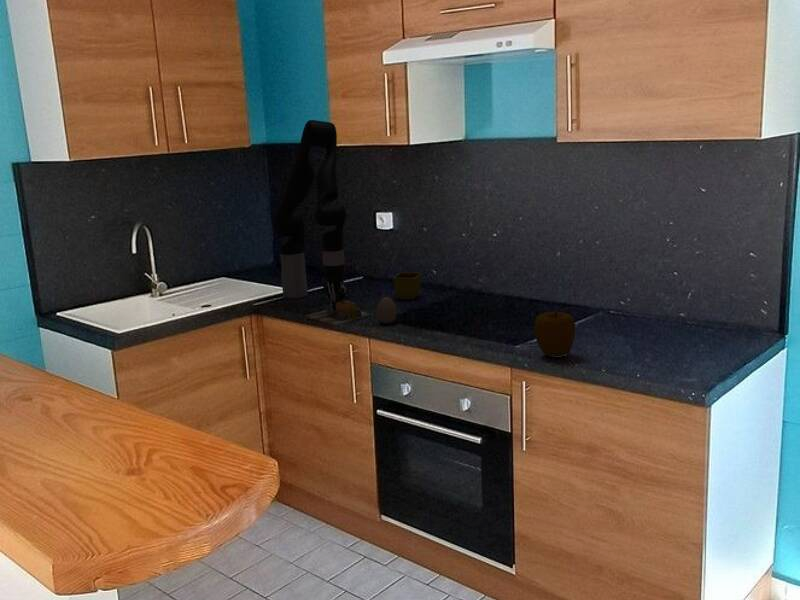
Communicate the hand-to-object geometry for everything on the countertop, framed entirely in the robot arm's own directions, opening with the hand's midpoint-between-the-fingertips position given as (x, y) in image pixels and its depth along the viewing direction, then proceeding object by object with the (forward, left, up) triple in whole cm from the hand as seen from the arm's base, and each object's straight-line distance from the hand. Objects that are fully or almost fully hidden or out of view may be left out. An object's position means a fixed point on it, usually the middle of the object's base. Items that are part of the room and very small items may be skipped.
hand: (336, 310), depth 282 cm
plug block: (+6, 0, -1) cm, 6 cm away
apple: (+87, +13, -2) cm, 88 cm away
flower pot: (0, +33, -2) cm, 33 cm away
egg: (+22, +5, -2) cm, 23 cm away
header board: (+1, 0, -2) cm, 2 cm away
